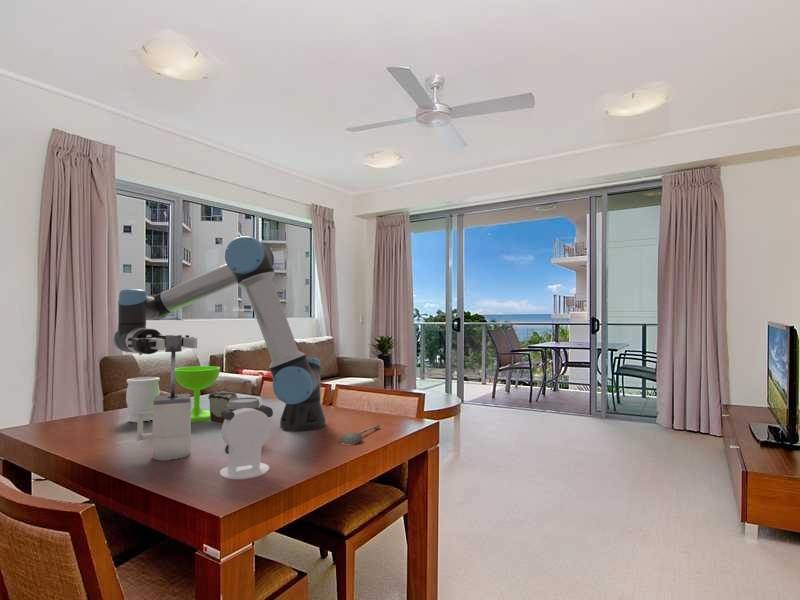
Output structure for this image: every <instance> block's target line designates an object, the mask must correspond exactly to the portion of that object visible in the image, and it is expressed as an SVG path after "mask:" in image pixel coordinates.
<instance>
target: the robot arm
mask: <svg viewBox="0 0 800 600" xmlns="http://www.w3.org/2000/svg"><path fill="white" fill-rule="evenodd" d="M224 260H225V263H224V264H222V265H221V266H218V267H216V268H214V269H211V270H208V271H207V272H204V273H202V274H200V275H197V276H196V277H193V278H191V279H188V280H186V281H183V282H182V283H179V284H176V285H175V286H172V287H170V288H169V289H166V290H164V291H163V290H162V291H161V292H159V293H157V294H155V295H153V296H147V295H148V294H147V292H146V290H144V289H133V288H132V289H129V288H128V289H126V288H125V289H121V290H120V291H119V295H118V301H117V305H118V313H117V314H118V317H117V320H118V322H117V323H118V325H117V331H116V332H115V333H114V335H113V338H112V342H113V344H114V346H115V347H116V348H117V349H118V350H120V351H122V352H124V353H125V352H126V353H134V354H135V353H136V354H138V355H139V356H142V355H153V354H155V353H157V352H158V351H165V335H163V334H162V333H160V332H159V330H157V329H154V328H149V327H148V328H147V320H149V321H150V320H152V321H160V320H163V319H165V318H167V317H168V316H169V314H171V313H173V312H175V311H178V310H180V309H182V308H185V307H186V306H189V305H191V304H194V303H196V302H198V301H201V300H203V299H205V298H207V297H209V296H212V295H214V294H216V293H219V292H221V291H223V290H225V289H228V288H230V287H232V286H233V287H234V285H237V284H238V286H239V287H241V288H243V289H245V292H246V294H247V297H248V300H249V302H250V304H251V307H252V311H253V312H254V316H255V318H256V322H257V324H258V326H259V329H260V332H261V334H262V337H263V340H264V343H265V345H266V347H267V348H266V349H267V351H268V353H269V356H270V358H271V363H270V364H269V371H270V374H271V377H272V390H273V393H274V395H275V396H276V397H277V399H278V400H279V401H281V402H283V403H285V405H284V408H283V410H282V413H281V417H280V420H279V427H280V429H282V430H286V431H290V432H291V431H292V432H293V431H297V432H299V431H302V432H303V431H304V432H305V431H312V430H313V431H314V430H318V429H321V427H322V428H323V426H324V427H325V426H326V416H325V414H324V410H323V407H322V403H321V370H322V365H321V364H322V363H321V360H320V358H317V357H307V355H306V353H304V352H302V351H300V350H299V347H298V345H297V343H296V340H295V337H294V335H293V331H292V330H291V326H290V324H289V321H288V319H287V315H286V314H285V310H284V308H283V306H282V303H281V300H280V297H279V295H278V291H277V289H276V287H275V283H274V281H273V279H274V277H275V274H276V272H275V270H274V264H275V256H274V253H273V251H272V250H271V248H270V247H269V246H268V245H266V244H264V243H263V242H261V241H260V240H259V239H257V238H255V237H252V236H247V235H246V236H245V235H244V236H238V237H236V238H234V239H232V240H231V241H229V243H228V245H227V246H226V248H225V251H224ZM182 348H187V349H198V338H197V337H194V336H191V337H190V334H187V335H185V337H184V336H182Z"/></svg>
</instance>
